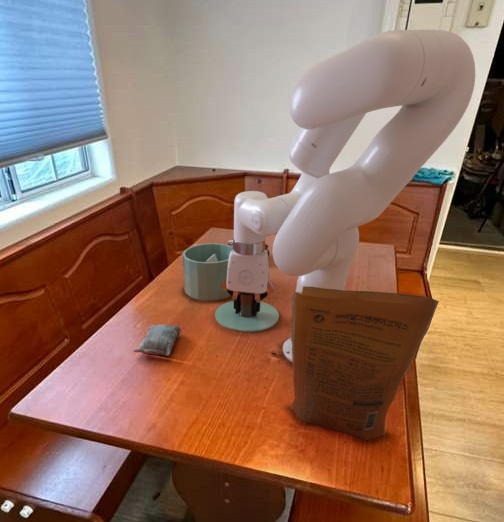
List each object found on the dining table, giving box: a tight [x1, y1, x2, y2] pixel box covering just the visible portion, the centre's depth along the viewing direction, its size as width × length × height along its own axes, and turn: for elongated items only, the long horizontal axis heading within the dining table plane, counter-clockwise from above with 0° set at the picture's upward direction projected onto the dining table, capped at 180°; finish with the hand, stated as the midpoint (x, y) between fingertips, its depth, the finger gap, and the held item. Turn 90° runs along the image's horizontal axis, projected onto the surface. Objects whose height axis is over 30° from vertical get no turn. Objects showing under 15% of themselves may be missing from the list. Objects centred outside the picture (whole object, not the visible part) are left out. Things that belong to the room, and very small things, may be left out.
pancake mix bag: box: [290, 286, 440, 441], centre depth 65 cm, size 7×19×28 cm, turn 62°
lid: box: [214, 292, 280, 333], centre depth 105 cm, size 17×17×8 cm
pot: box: [182, 242, 233, 301], centre depth 119 cm, size 16×16×12 cm
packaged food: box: [133, 324, 182, 357], centre depth 96 cm, size 9×12×5 cm
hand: (246, 311), depth 106 cm, fingers closed on lid, 4 cm apart
